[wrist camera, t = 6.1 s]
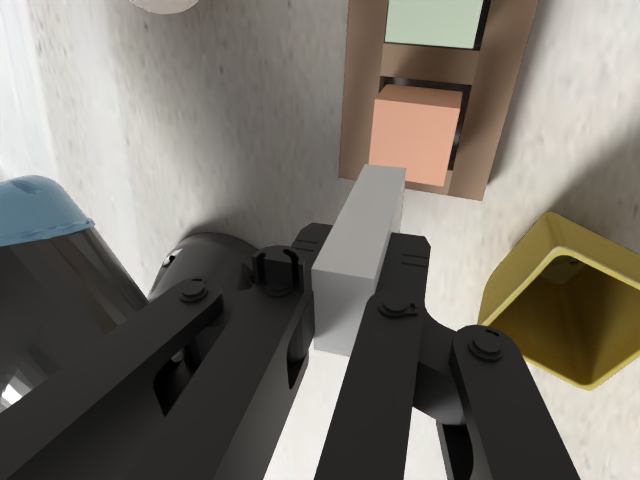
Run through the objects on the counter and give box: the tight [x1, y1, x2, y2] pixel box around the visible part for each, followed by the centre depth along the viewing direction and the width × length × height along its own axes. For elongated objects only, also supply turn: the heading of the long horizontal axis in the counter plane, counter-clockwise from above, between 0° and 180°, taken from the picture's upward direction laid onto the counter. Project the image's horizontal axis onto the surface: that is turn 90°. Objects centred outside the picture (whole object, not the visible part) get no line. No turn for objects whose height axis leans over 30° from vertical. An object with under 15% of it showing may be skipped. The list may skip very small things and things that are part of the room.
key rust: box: [369, 84, 462, 187], centre depth 27 cm, size 5×5×4 cm
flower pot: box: [477, 212, 640, 391], centre depth 29 cm, size 9×9×9 cm
